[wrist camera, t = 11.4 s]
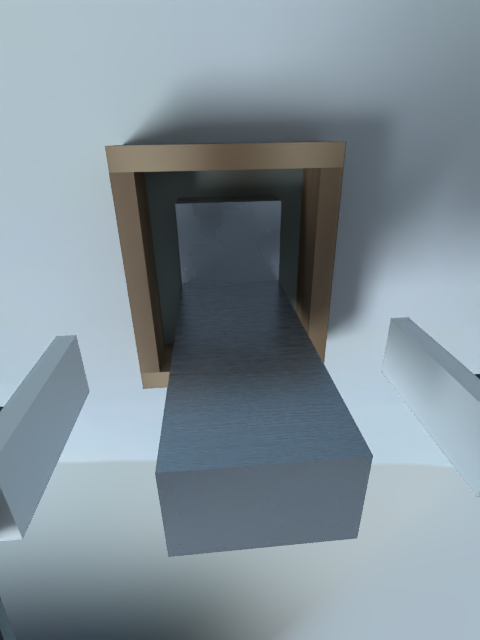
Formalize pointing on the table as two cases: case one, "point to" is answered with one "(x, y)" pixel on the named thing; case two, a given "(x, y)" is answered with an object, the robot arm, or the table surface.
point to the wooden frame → (219, 181)
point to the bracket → (250, 398)
